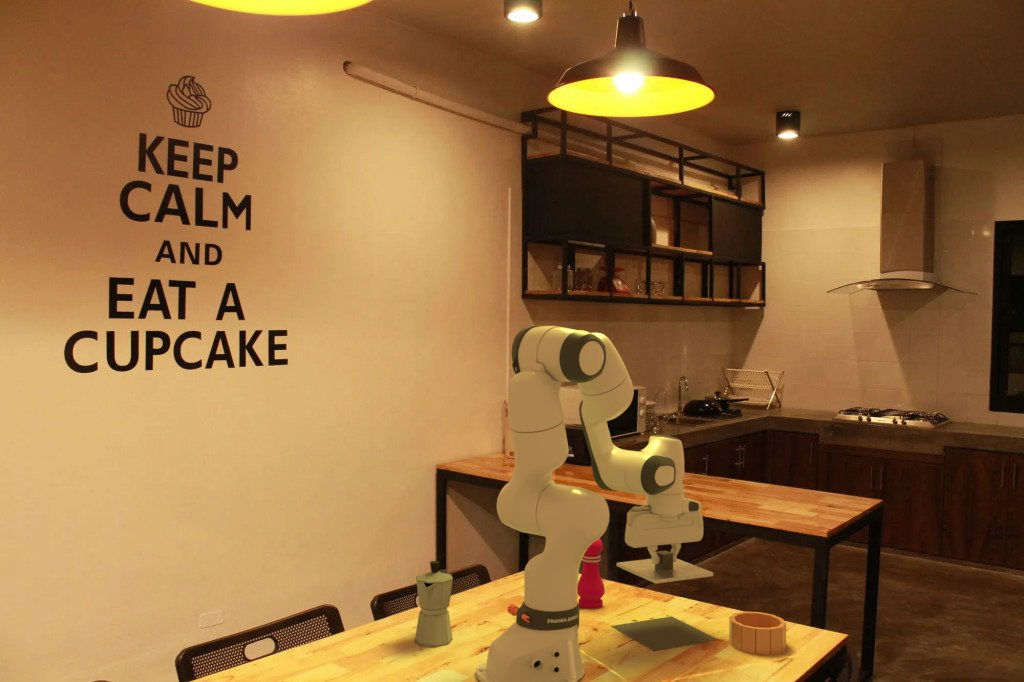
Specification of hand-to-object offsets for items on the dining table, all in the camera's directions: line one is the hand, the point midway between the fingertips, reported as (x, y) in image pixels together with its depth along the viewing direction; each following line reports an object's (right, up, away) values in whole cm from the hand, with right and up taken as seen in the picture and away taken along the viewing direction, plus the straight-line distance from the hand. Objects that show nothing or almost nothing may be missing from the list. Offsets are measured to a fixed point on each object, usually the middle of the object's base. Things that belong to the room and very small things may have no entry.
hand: (664, 562), depth 197 cm
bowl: (+20, -17, -7) cm, 27 cm away
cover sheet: (0, -2, 0) cm, 2 cm away
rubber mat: (0, -17, 0) cm, 17 cm away
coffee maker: (-53, -17, -4) cm, 56 cm away
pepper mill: (-15, -17, +20) cm, 31 cm away
